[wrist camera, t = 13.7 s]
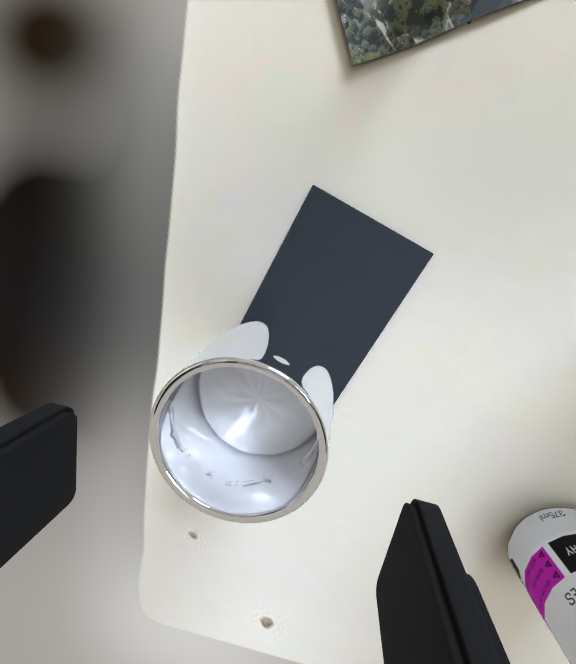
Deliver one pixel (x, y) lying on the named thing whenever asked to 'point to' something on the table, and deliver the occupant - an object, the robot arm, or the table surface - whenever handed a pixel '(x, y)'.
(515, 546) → the supplement can
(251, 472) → the beer glass
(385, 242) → the mat
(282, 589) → the table surface
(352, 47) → the eiffel tower figurine
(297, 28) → the table surface
